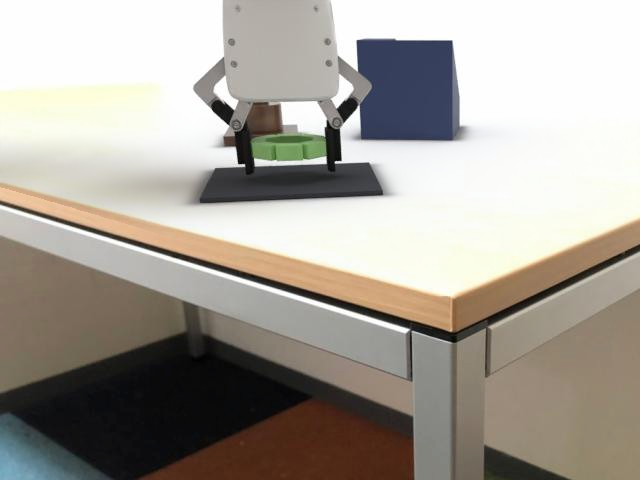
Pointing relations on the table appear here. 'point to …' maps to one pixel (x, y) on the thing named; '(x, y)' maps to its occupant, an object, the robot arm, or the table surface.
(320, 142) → the ring
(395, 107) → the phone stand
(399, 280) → the table surface
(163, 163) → the table surface
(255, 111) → the stand
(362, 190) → the mat
